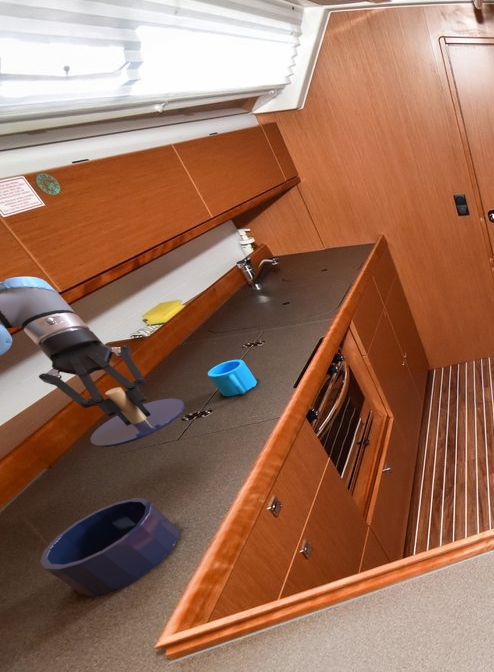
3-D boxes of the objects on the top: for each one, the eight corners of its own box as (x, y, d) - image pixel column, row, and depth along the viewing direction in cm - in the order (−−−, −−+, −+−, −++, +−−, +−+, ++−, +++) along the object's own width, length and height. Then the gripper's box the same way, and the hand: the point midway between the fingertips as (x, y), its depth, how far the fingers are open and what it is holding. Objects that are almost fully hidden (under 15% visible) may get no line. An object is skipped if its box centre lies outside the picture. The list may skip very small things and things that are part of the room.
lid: (83, 436, 91) (49, 402, 86) (170, 395, 103) (144, 363, 98) (109, 458, 86) (74, 423, 81) (198, 412, 97) (172, 379, 92)
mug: (220, 390, 125) (205, 369, 121) (253, 376, 130) (240, 356, 126) (229, 406, 118) (213, 385, 114) (263, 391, 124) (250, 370, 120)
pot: (68, 575, 78) (29, 548, 73) (163, 516, 89) (134, 488, 84) (94, 610, 73) (55, 582, 68) (192, 542, 83) (163, 514, 79)
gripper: (-1, 349, 81) (80, 438, 83) (112, 315, 93) (181, 393, 94) (15, 363, 86) (91, 446, 88) (120, 328, 98) (186, 402, 99)
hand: (137, 418), depth 91 cm, fingers closed on lid, 2 cm apart
